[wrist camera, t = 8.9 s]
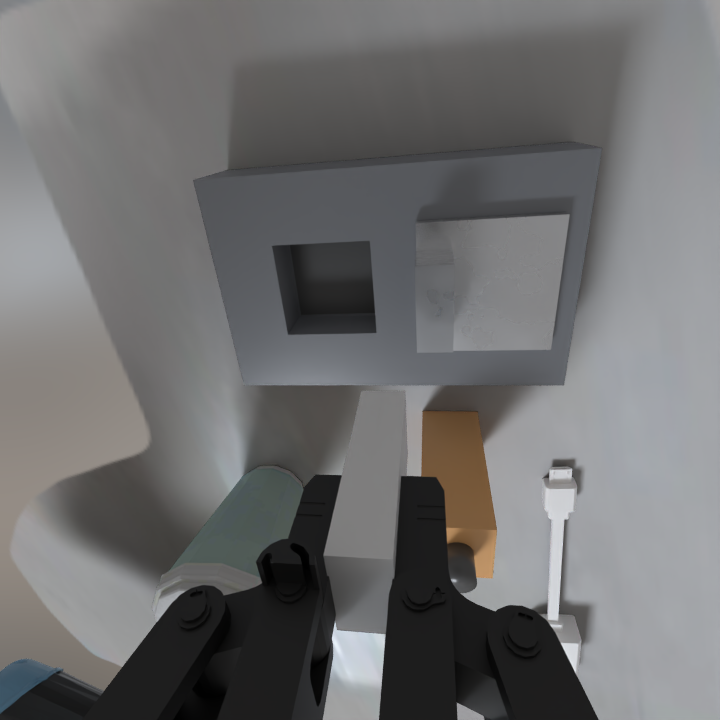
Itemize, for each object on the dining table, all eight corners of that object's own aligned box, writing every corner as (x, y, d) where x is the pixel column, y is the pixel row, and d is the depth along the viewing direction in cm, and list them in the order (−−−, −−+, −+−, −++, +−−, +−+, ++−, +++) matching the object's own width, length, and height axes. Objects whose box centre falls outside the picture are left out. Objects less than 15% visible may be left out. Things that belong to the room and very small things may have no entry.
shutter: (418, 346, 29) (417, 375, 26) (415, 220, 25) (414, 236, 22) (548, 345, 27) (563, 375, 24) (566, 211, 24) (587, 227, 20)
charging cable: (586, 454, 39) (599, 481, 36) (568, 671, 53) (576, 703, 50) (525, 456, 40) (533, 482, 37) (523, 669, 54) (529, 700, 51)
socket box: (265, 352, 37) (244, 385, 32) (227, 170, 30) (193, 179, 26) (546, 349, 33) (563, 385, 29) (573, 141, 26) (602, 147, 22)
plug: (423, 452, 39) (421, 602, 27) (422, 410, 37) (419, 554, 25) (475, 453, 39) (496, 608, 27) (477, 411, 37) (501, 559, 24)
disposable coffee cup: (225, 512, 47) (148, 665, 34) (220, 434, 42) (127, 580, 29) (323, 531, 46) (282, 693, 33) (331, 454, 41) (286, 612, 28)
